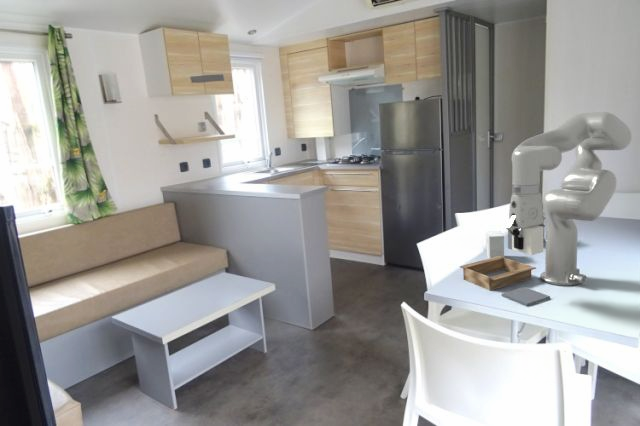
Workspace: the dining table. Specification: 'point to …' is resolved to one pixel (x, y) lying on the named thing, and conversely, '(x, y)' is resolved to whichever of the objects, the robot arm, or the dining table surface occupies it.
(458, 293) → the dining table surface
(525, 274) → the wooden tray
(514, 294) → the pad
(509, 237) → the box
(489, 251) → the small box
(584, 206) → the robot arm
